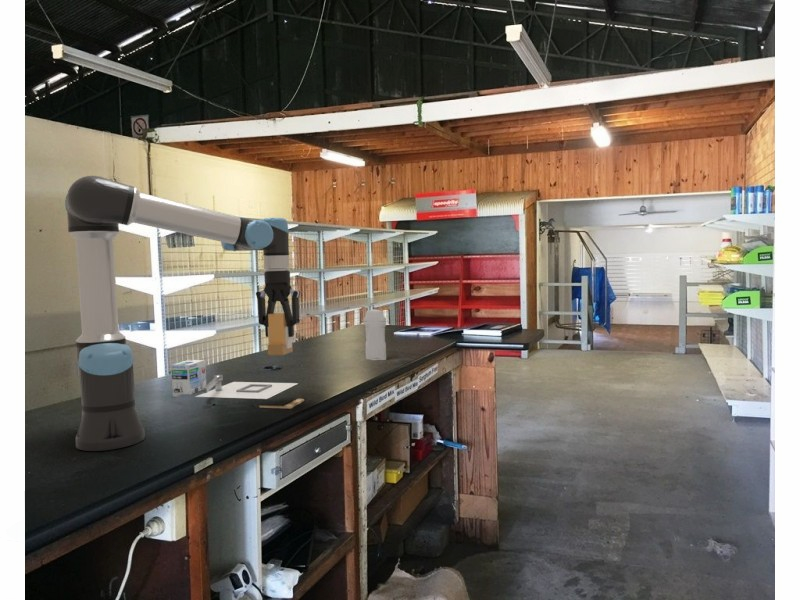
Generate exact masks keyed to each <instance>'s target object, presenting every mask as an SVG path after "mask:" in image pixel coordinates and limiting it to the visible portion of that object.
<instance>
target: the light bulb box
mask: <svg viewBox="0 0 800 600" xmlns="http://www.w3.org/2000/svg"><path fill="white" fill-rule="evenodd" d="M170 366H171V382H172V385H171V386H172V397H173V398H178V397H180V396H184V395H186V396H187V395H193V394H195V393H198V392H200V391H203V388H204V387H205V386H206V385H207V371H206V369H207V366H206V360H205V359H187V360H184V361H180V362H177V363H173V364H171V365H170Z"/></svg>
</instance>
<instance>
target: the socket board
mask: <svg viewBox="0 0 800 600" xmlns="http://www.w3.org/2000/svg"><path fill="white" fill-rule="evenodd" d="M298 384H299V383H296V382H259V381H258V382H257V381H255V382H253V381H251V382H250V381H248V382H247V381H232V382H230V383H227V384H225V385H222V381H218V382H217V383H216V384H215V385H214V387H215V388H213V389H210V390H209V391H208V392H207V393H203V392H202V393H201V394H198V395H195V396H194V397H195V398H224V399H225V398H226V399H250V400H251V399H252V400H253V399H257V400H268V399H270V398H272V397H274V396H276V395H278V394H280V393H282V392H284V391H286V390H288V389H290V388H292V387H294V386H296V385H298Z"/></svg>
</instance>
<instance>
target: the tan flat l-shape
mask: <svg viewBox="0 0 800 600" xmlns="http://www.w3.org/2000/svg"><path fill="white" fill-rule="evenodd" d="M303 402H305V399H304V398H295V399H292V401H289V402H288V403H286V404H263V403H262V404H260V405H259V409H260V408H261V409H262V408H265V409H266V408H267V409H293V408H294V407H296V406H298V405H300V404H302V403H303Z"/></svg>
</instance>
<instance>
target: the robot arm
mask: <svg viewBox="0 0 800 600" xmlns="http://www.w3.org/2000/svg"><path fill="white" fill-rule="evenodd" d="M64 202H65V203H64V204H65V205H64V206H65V210H66V216H67V229H68V231H67V232H68V235H70V236H71V237H72V238H73V239H74V240H75V246H76V247H75V248H76V249H75V250H76V263H77V278H78V279H77V280H78V290H79V292H78V293H79V307H80V308H79V309H80V320H81V321H80V322H81V323H80V324H81V334H80V336H78V337H77V338H76V339H75V348H76V350H75V351H76V364H75V365H76V366H75V368H76V374H77V375H78V376H77V377H78V378H79V381H80V383H79V385H80V397H81V398H80V399H81V417H80V421H79V423H78V424H79V425H78V429H77V434H76V435H75V448H76V449H77V450H81V451H86V452H101V451H110V450H111V451H112V450H117V449H122V448H125V447H129V446H133V445H136V444H138V443H141V442H142V441H143V440H144V439H145V438H146V436H145V433H146V431H145V427H144V425H143V424H142V421H141V417H140V416H139V414H138V411H137V409H136V393H135V392H136V391H135V376H134V375H135V374H134V361H135V360H134V359H135V358H134V355H133V350H132V348H131V347H130V346H129V345H127V340H126V336H125V335H124V334H123V333H121V332H120V330H119V316H118V315H119V313H118V299H117V296H118V295H117V281H116V268H115V264H116V263H115V253H114V252H115V250H114V248H115V247H114V239H115V238H116V237H117V236H118V235H119V234H120V228H119V224H120V225H124V226H129V225H131V224H138V225H143V226H148V227H152V228H156V229H161V230H165V231H171V232H175V233H179V234H185V235H189V236H192V237H193V236H194V237H198V238H203V239H207V240H211V241H212V240H213V241H217V242H220V244H221V247H222V249H223V250H224V251H226V252H227V251H229V252H230V251H231V252H239V251H240V252H246V251H262V253H263V269H264V270H266V271H264V272H263V274H264V276H263V277H264V288H263V289H262V290H260V291H256V292H255V296H256V298H257V309H258V310H257V311H258V324H259V325H262V326H264V330H265V331H264V332H265V337H266V338H267V339H268V344H267V346H268V345H269V324H268V314H272V313H275V307H276V305H277V302H279V303H280V305H281V307H282V310H283V313H284V314H285V319H286V322H287V325H286V327H285V343H286V348H291V347H292V345H293V341H292V337H294V336H295V331H294V329H295V328H294V327H295V325H297V324H300V320H301V318H300V299H299V298H300V295H301V291H300V290H295V289H292V286H291V272H290V270H289V269H291V267H290V248H289V247H290V246H289V245H290V244H289V243H290V242H289V241H290V239H289V234H290V232H289V225H288V220H287V218H284V217H265V218H263V219H262V220H261V219H254V220H253V219H249V218H245V217H240V216H236V215H232V214H229V213H225V212H220V211H217V210H212V209H209V208H205V207H201V206H196V205H192V204H188V203H184V202H179V201H176V200H173V199H167V198H165V197H160V196H155V195H152V194H147V193H143V192H140V191H139V190H138V188H137V187H136V186H132V185H129V184H126V183H122V182H119V181H116V180H113V179H109V178H107V177H103V176H100V175H99V176H98V175H86V176H82V177H80V178H78V179H77V180H75V181H74V182H73V183H72V184H71V185H70V187H69V189H68V190H67V194H66V196H65V201H64ZM266 296H267V309H266ZM289 296H291V306H290V304H289V303H290V300H289Z"/></svg>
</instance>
